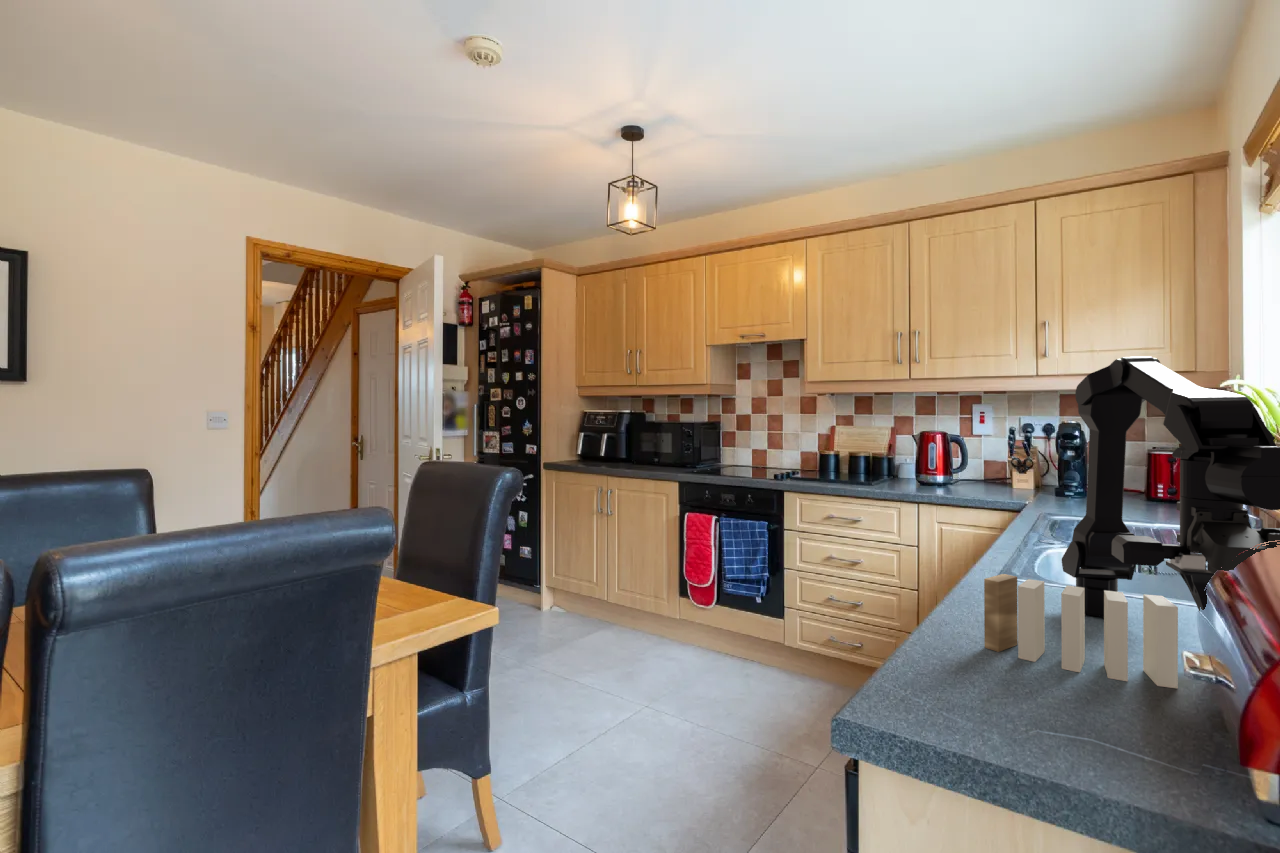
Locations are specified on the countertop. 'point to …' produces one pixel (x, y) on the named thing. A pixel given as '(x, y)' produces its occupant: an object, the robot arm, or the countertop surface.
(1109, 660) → the domino
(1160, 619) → the domino
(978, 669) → the countertop surface
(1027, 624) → the domino
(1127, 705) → the countertop surface
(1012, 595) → the domino
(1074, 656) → the domino
